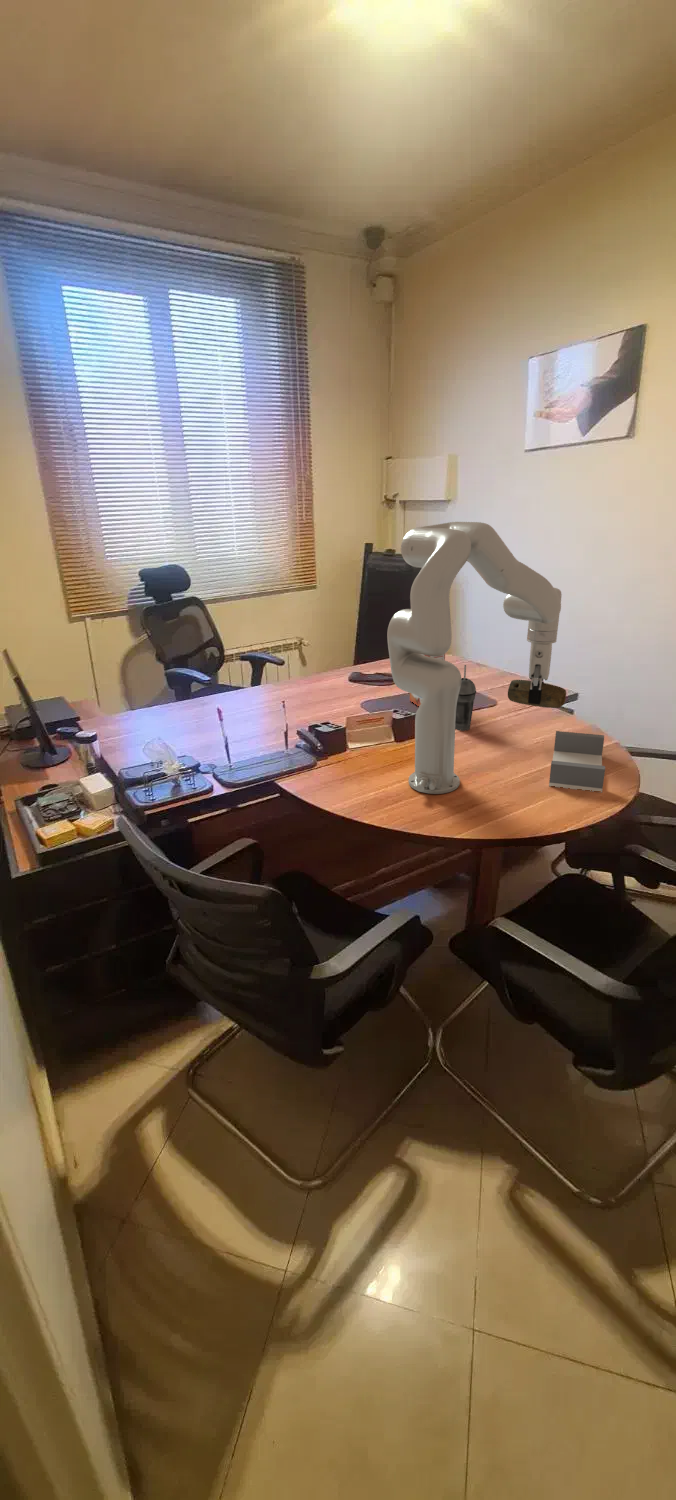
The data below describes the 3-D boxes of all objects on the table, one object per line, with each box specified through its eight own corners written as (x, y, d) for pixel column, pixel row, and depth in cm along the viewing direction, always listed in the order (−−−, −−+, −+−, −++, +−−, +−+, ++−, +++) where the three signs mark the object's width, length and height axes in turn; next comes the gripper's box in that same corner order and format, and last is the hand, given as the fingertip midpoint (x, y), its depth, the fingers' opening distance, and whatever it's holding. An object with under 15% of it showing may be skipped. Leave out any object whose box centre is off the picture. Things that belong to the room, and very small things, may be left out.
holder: (602, 792, 148) (605, 769, 146) (548, 786, 152) (551, 763, 150) (601, 756, 167) (604, 735, 165) (554, 751, 171) (556, 730, 169)
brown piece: (505, 705, 174) (507, 682, 171) (511, 698, 180) (513, 676, 177) (561, 712, 167) (564, 688, 165) (565, 705, 173) (568, 682, 171)
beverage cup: (473, 723, 193) (476, 660, 185) (475, 732, 186) (479, 667, 178) (449, 723, 193) (451, 660, 185) (451, 732, 187) (453, 667, 179)
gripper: (555, 643, 157) (547, 710, 164) (558, 629, 172) (551, 691, 179) (524, 641, 160) (518, 707, 167) (530, 628, 175) (524, 689, 182)
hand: (535, 698), depth 173 cm, fingers closed on brown piece, 7 cm apart
